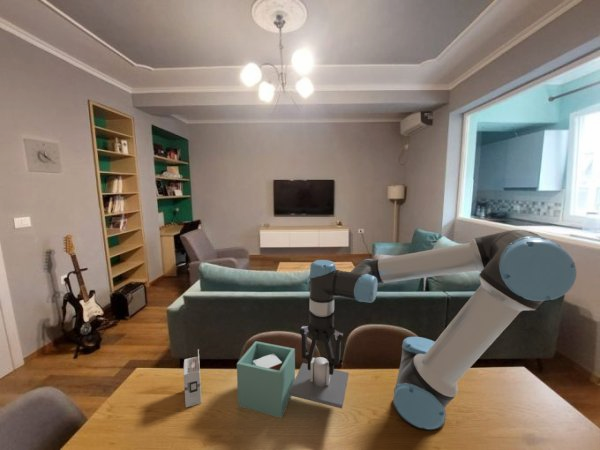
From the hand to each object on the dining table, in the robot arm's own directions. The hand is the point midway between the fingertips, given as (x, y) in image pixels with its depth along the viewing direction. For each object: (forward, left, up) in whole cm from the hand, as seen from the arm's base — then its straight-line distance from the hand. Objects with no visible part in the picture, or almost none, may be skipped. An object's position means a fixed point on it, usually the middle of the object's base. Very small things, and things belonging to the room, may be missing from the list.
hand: (320, 380), depth 85 cm
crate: (+18, +1, -10) cm, 20 cm away
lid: (0, 0, -3) cm, 3 cm away
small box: (+18, +1, -10) cm, 20 cm away
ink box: (+42, +9, -10) cm, 44 cm away
